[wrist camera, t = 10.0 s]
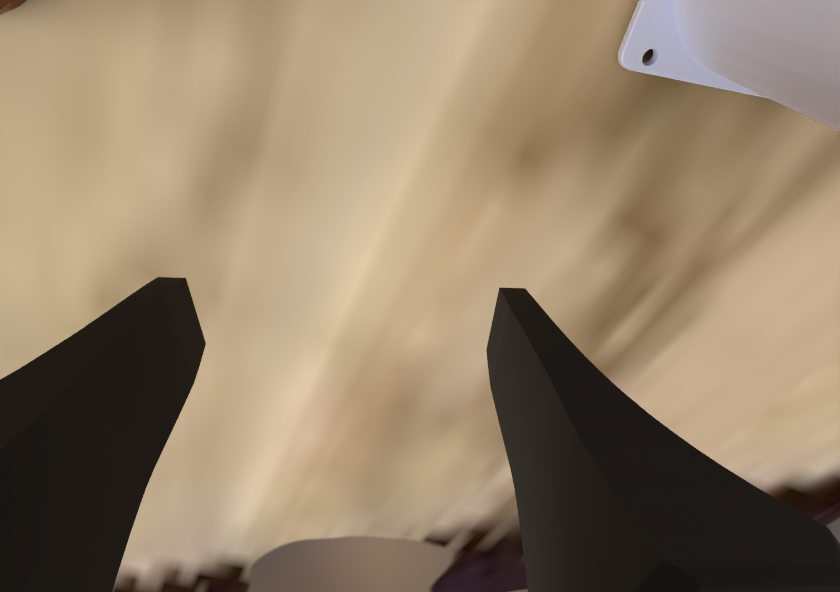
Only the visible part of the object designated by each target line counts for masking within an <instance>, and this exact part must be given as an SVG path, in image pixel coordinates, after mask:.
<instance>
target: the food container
mask: <svg viewBox="0 0 840 592" xmlns="http://www.w3.org/2000/svg"><path fill="white" fill-rule="evenodd" d="M25 1H26V0H0V14H2V13H5V12H7V11H9V10H12V9H14V8H16V7H18V6H20V5H21V4H22V3H24V2H25Z"/></svg>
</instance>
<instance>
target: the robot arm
mask: <svg viewBox="0 0 840 592" xmlns="http://www.w3.org/2000/svg"><path fill="white" fill-rule="evenodd" d="M649 49H652V50H653V56H652V58H651V59H650V60H649V61H648V62H646V63H643V62H642V57H643V55H644V53H645V52H646V51H648V50H649ZM618 61H619V63H620V64H621V66H623V67H624V68H626V69H628V70H632V71H637V72H642V73H646V74H651V75H656V76H661V77H666V78H671V79H676V80H681V81H686V82H691V83H695V84H700V85H705V86H710V87H715V88H720V89H725V90H730V91H735V92H740V93H745V94H749V95H754V96H759V97H764V98H769V99H771V100H773V101H775V102H777V103H779V104H781V105H784V106H786V107H788V108H790V109H792V110H794V111H796V112H798V113H801V114H803V115H805V116H807V117H809V118H811V119H813V120H815V121H818V122H820V123H822V124H824V125H826V126H828V127H830V128H832V129H835V130H837V131H839V132H840V0H639V1H638V4H637V6H636V9H635V11H634V14H633V16H632V19H631V21H630V24H629V26H628V29H627V31H626V34H625V36H624V39H623V41H622V44H621V46H620V49H619V53H618ZM205 344H206V343H205V340H204V336H203V333H202V330H201V327H200V323H199V320H198V317H197V314H196V310H195V307H194V304H193V300H192V297H191V294H190V291H189V287H188V284H187V281H186V278H166V277H158V278H156V279H154V280H153V281H151V282H149V283H148V284H146V285H145V286H143V287H142V288H140V289H139V290H137V291H136V292H135V293H133V294H132V295H130V296H129V297H127V298H126V299H124V300H123V301H122V302H120V303H119V304H117V305H116V306H114V307H113V308H112V309H110V310H109V311H107V312H106V313H104V314H103V315H101V316H100V317H98V318H97V319H96V320H94V321H93V322H91V323H90V324H88V325H87V326H85V327H84V328H82V329H81V330H80V331H78V332H77V333H75V334H74V335H72V336H71V337H69V338H67V339H66V340H64V341H63V342H61V343H59V344H58V345H56V346H55V347H53V348H52V349H50V350H48V351H47V352H45V353H44V354H42V355H41V356H39V357H37V358H36V359H34V360H33V361H31V362H30V363H28V364H26V365H25V366H23V367H21V368H20V369H18V370H16V371H15V372H13V373H11V374H9V375H8V376H6V377H4V378H2V379H1V380H0V592H112V591H113V587H114V584H115V580H116V577H117V574H118V570H119V567H120V564H121V561H122V558H123V555H124V551H125V548H126V545H127V542H128V539H129V536H130V532H131V529H132V527H133V524H134V521H135V518H136V515H137V512H138V509H139V506H140V503H141V501H142V498H143V495H144V492H145V489H146V487H147V484H148V482H149V479H150V477H151V475H152V472H153V470H154V468H155V465H156V463H157V461H158V459H159V457H160V455H161V453H162V451H163V448H164V446H165V444H166V442H167V440H168V438H169V436H170V434H171V431H172V429H173V427H174V425H175V423H176V421H177V419H178V417H179V414H180V412H181V410H182V408H183V406H184V404H185V401H186V399H187V397H188V395H189V393H190V390H191V388H192V386H193V384H194V381H195V378H196V375H197V372H198V369H199V366H200V362H201V359H202V355H203V351H204V348H205ZM487 359H488V369H489V377H490V385H491V391H492V395H493V399H494V403H495V407H496V412H497V416H498V420H499V424H500V428H501V432H502V436H503V440H504V444H505V448H506V452H507V456H508V460H509V464H510V468H511V473H512V478H513V483H514V488H515V494H516V501H517V508H518V515H519V522H520V529H521V536H522V544H523V552H524V560H525V568H526V576H527V585H528V592H840V543H839V542H838V541H837V539H836V538H835V536H834V535H833V534H832V532H831V531H830V530H829V529H828V528H827V527H826V526H824V525H822V524H821V523H819V522H817V521H815V520H813V519H812V518H810V517H808V516H806V515H804V514H803V513H801V512H799V511H797V510H796V509H794V508H792V507H790V506H788V505H787V504H785V503H783V502H781V501H779V500H778V499H776V498H774V497H772V496H771V495H769V494H767V493H765V492H763V491H762V490H760V489H758V488H757V487H755V486H753V485H752V484H750V483H748V482H747V481H745V480H744V479H742V478H740V477H739V476H737V475H736V474H734V473H733V472H731V471H729V470H728V469H726V468H725V467H723V466H721V465H720V464H718V463H717V462H715V461H714V460H712V459H711V458H709V457H708V456H706V455H705V454H703V453H702V452H700V451H699V450H697V449H696V448H694V447H693V446H692V445H690V444H689V443H687V442H686V441H685V440H683V439H682V438H681V437H679V436H678V435H676V434H675V433H674V432H672V431H671V430H669V429H668V428H667V427H665V426H664V425H663V424H661V423H660V422H659V421H657V420H656V419H655V418H654V417H652V416H651V415H650V414H648V413H647V412H646V411H645V410H644V409H642V408H641V407H640V406H639V405H638V404H636V403H635V402H634V401H633V400H632V399H630V398H629V397H628V396H627V395H626V394H624V393H623V392H622V391H621V390H620V389H619V388H618V387H617V386H615V385H614V384H613V383H612V382H611V381H610V380H609V379H608V378H607V377H606V376H605V375H604V374H603V373H602V372H601V371H599V370H598V369H597V368H596V367H595V366H594V365H593V364H592V363H591V362H590V361H589V360H588V359H587V358H586V357H585V356H584V355H583V354H582V353H581V352H580V351H579V350H578V348H577V347H576V346H575V345H574V344H573V343H572V342H571V341H570V340H569V339H568V338H567V337H566V336H565V334H564V333H563V332H562V331H561V330H560V329H559V328H558V326H557V325H556V324H555V323H554V322H553V321H552V320H551V318H550V317H549V316H548V315H547V314H546V313H545V311H544V310H543V309H542V308H541V307H540V305H539V304H538V303H537V302H536V301H535V300H534V298H533V297H532V296H531V295H530V294H529V293H528V291H527V290H526V289H523V288H499V293H498V297H497V302H496V307H495V312H494V317H493V321H492V326H491V331H490V336H489V340H488V345H487Z"/></svg>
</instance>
